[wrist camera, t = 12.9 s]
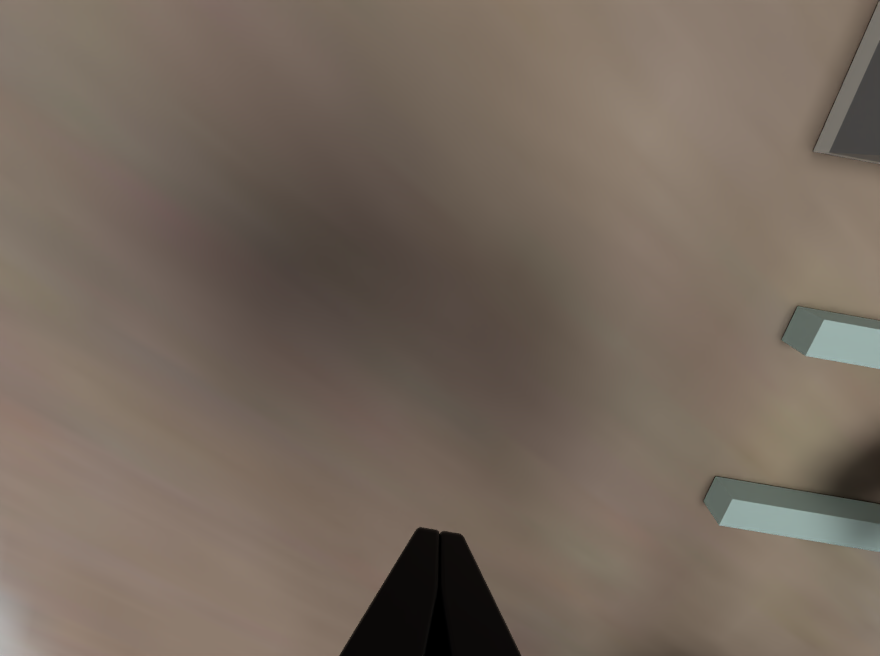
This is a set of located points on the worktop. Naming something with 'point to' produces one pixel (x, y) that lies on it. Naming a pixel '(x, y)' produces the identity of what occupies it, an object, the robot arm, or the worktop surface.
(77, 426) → the worktop surface
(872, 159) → the button housing
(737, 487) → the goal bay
